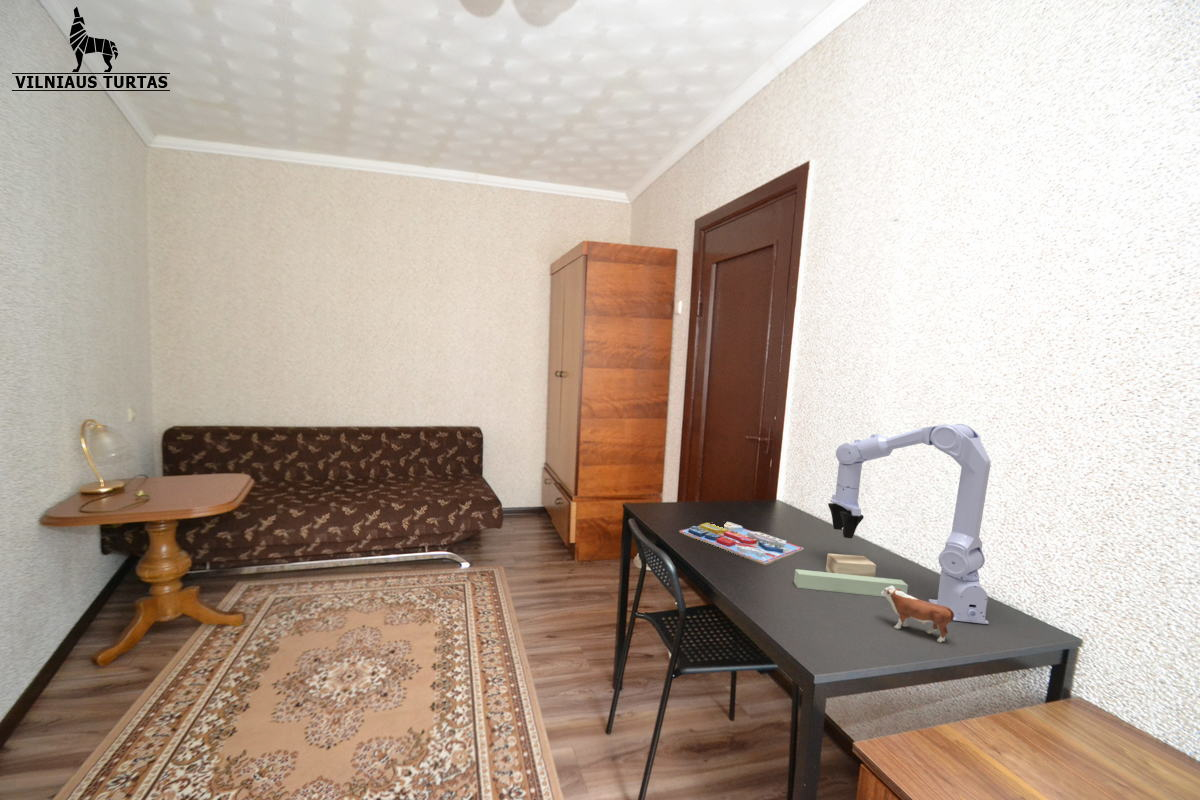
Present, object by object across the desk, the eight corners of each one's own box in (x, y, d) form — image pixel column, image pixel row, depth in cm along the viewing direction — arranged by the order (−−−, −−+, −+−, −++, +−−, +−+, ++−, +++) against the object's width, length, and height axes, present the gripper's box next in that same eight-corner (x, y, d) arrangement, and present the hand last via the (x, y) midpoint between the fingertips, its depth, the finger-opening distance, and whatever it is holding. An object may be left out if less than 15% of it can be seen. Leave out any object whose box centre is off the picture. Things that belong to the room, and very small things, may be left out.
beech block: (874, 583, 130) (876, 564, 130) (836, 580, 130) (838, 562, 129) (861, 573, 136) (863, 556, 135) (825, 571, 136) (827, 553, 135)
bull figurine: (878, 615, 112) (883, 580, 111) (951, 639, 103) (956, 601, 103) (874, 622, 108) (879, 586, 108) (949, 647, 100) (954, 608, 99)
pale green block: (906, 599, 121) (907, 585, 121) (797, 587, 123) (799, 574, 123) (899, 593, 124) (901, 579, 124) (793, 582, 126) (795, 569, 126)
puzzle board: (804, 551, 151) (805, 543, 151) (765, 568, 136) (766, 559, 135) (720, 523, 174) (720, 515, 173) (678, 534, 158) (678, 526, 158)
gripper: (823, 478, 146) (818, 523, 147) (843, 491, 131) (838, 540, 132) (848, 480, 145) (843, 526, 146) (871, 493, 131) (865, 543, 132)
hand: (842, 533), depth 139 cm, fingers open, 6 cm apart
